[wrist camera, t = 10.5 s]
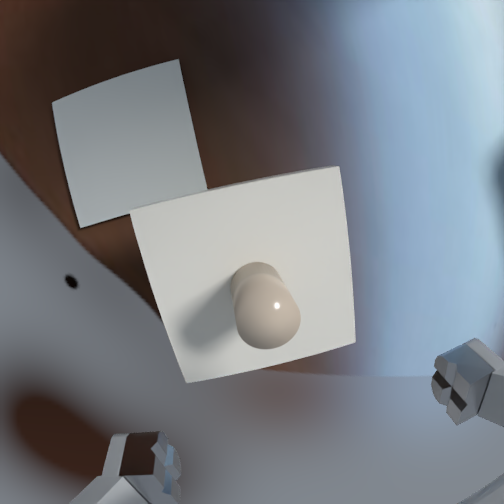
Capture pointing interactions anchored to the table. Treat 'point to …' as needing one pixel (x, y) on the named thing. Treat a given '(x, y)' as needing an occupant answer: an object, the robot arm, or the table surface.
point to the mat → (128, 143)
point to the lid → (251, 271)
